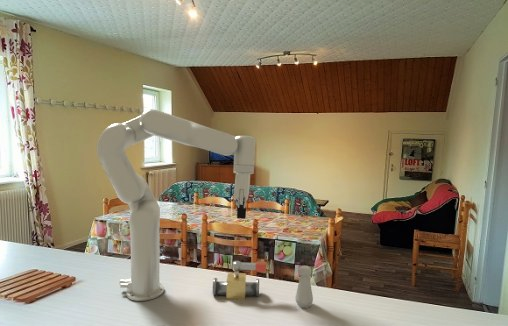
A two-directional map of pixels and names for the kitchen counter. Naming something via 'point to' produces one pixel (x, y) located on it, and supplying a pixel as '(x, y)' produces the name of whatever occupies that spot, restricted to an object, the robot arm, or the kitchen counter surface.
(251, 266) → the valve lever
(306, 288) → the salt shaker
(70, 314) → the kitchen counter surface
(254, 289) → the valve pipe
